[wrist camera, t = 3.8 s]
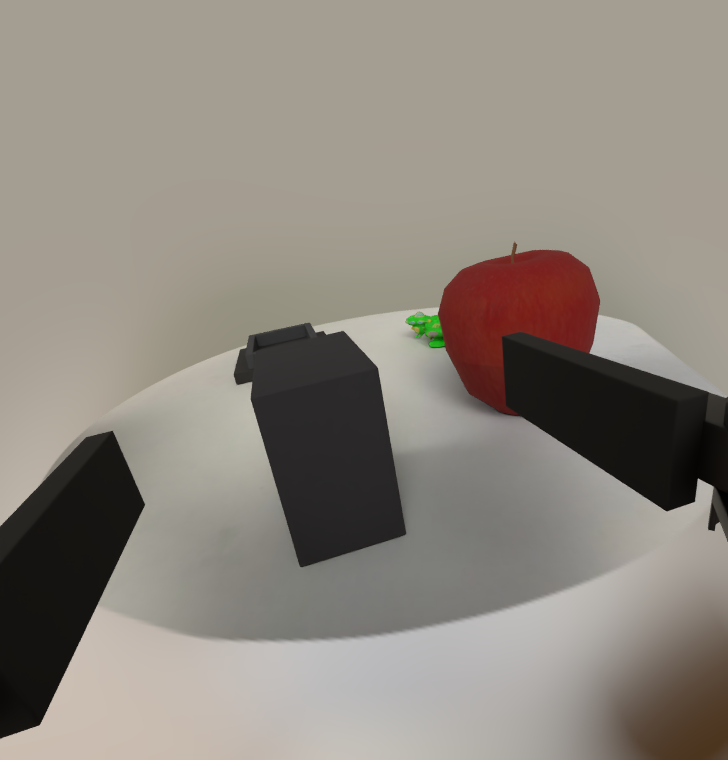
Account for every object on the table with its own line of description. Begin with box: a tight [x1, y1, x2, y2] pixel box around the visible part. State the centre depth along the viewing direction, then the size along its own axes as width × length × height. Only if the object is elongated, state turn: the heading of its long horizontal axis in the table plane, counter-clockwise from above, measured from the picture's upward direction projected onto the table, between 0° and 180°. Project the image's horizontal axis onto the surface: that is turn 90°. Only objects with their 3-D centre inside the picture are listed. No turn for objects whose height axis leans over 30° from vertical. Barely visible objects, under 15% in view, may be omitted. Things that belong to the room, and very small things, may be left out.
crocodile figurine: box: [405, 312, 445, 348], centre depth 53 cm, size 7×18×4 cm, turn 45°
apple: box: [438, 243, 600, 415], centre depth 32 cm, size 12×12×13 cm
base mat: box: [234, 323, 326, 384], centre depth 60 cm, size 14×14×4 cm
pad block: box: [251, 331, 406, 567], centre depth 24 cm, size 6×9×10 cm, turn 13°
